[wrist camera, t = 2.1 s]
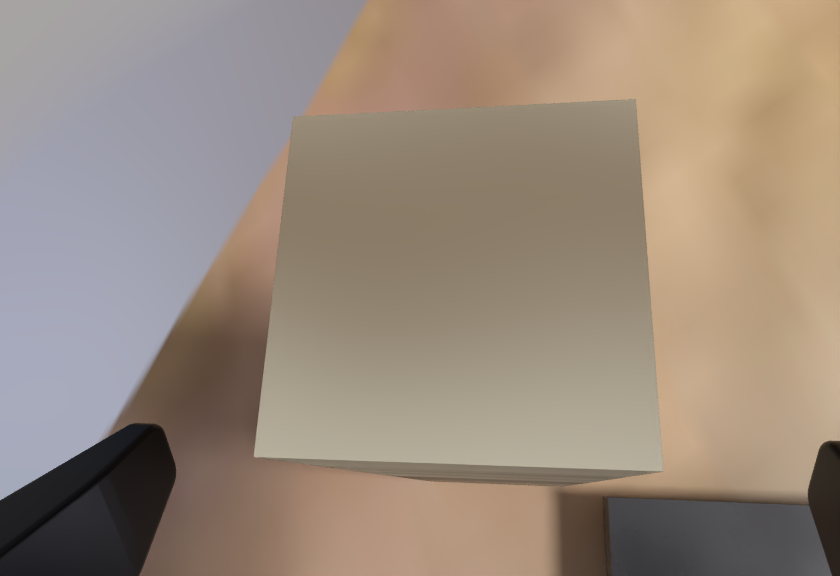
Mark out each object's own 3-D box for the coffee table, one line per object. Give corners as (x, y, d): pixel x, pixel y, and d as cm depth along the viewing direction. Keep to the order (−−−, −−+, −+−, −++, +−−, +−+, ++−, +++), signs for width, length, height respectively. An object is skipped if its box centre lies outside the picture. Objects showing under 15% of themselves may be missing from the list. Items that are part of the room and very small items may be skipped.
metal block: (563, 486, 17) (663, 471, 5) (431, 481, 18) (253, 457, 6) (559, 355, 18) (635, 99, 6) (435, 354, 19) (292, 116, 7)
